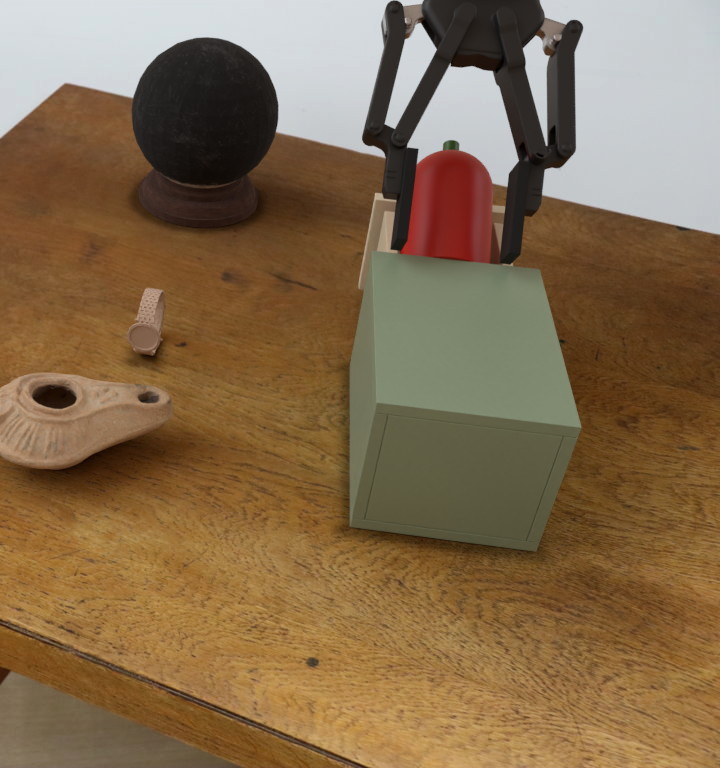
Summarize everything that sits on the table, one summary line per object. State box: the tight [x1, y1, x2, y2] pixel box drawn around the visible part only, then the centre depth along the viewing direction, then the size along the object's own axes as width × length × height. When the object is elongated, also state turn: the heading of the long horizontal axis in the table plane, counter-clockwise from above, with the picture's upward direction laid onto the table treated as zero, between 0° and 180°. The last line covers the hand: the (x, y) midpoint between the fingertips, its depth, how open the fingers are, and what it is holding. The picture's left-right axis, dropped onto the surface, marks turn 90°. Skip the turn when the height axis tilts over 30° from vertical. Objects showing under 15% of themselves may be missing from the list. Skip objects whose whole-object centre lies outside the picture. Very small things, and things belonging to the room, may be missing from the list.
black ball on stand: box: [131, 36, 279, 229], centre depth 100 cm, size 13×13×15 cm
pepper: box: [399, 139, 494, 264], centre depth 82 cm, size 6×6×11 cm
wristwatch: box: [126, 287, 167, 356], centre depth 83 cm, size 3×5×5 cm, turn 167°
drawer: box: [358, 192, 514, 291], centre depth 85 cm, size 22×10×8 cm, turn 172°
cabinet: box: [349, 251, 582, 553], centre depth 74 cm, size 18×12×10 cm, turn 172°
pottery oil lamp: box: [0, 372, 175, 471], centre depth 73 cm, size 9×12×7 cm
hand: (453, 251), depth 76 cm, fingers open, 7 cm apart
